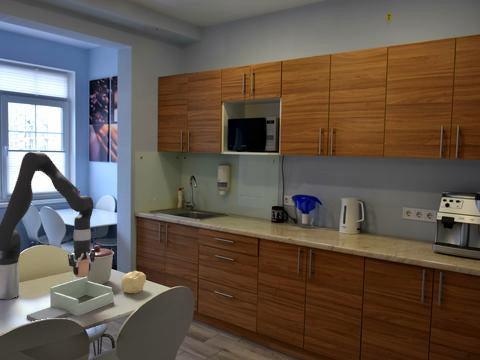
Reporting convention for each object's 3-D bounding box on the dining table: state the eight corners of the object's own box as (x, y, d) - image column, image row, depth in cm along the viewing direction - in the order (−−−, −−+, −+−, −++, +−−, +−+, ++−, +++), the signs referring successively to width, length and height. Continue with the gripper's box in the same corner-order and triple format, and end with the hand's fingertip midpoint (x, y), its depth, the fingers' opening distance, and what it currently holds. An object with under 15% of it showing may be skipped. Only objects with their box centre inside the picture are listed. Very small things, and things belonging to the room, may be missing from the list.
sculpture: (137, 296, 203) (137, 275, 203) (116, 293, 207) (116, 273, 207) (149, 289, 214) (149, 269, 214) (129, 286, 218) (129, 267, 217)
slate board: (26, 318, 175) (26, 315, 175) (51, 309, 185) (51, 306, 185) (43, 325, 169) (43, 321, 168) (68, 315, 179) (68, 312, 179)
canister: (74, 281, 224) (74, 244, 223) (105, 275, 237) (105, 240, 235) (87, 290, 211) (87, 250, 210) (119, 283, 223) (119, 246, 222)
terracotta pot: (71, 275, 190) (71, 259, 189) (83, 272, 196) (83, 256, 195) (80, 278, 187) (80, 261, 186) (92, 275, 192) (92, 258, 192)
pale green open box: (50, 306, 189) (50, 287, 188) (86, 293, 206) (86, 276, 205) (78, 315, 178) (78, 296, 178) (113, 302, 196) (113, 283, 195)
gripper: (89, 234, 198) (89, 268, 199) (63, 239, 186) (63, 275, 187) (99, 236, 194) (99, 270, 195) (74, 241, 182) (73, 278, 183)
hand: (81, 272), depth 191 cm, fingers closed on terracotta pot, 6 cm apart
